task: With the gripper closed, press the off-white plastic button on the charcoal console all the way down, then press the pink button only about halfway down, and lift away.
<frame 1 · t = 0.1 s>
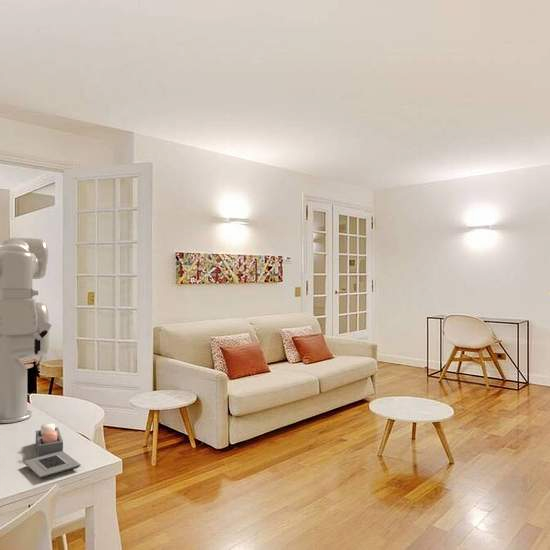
hand: (17, 355, 130), 31 cm above the table, tool pointing down, fingers open, 9 cm apart
button console: (48, 448, 141), on the table
electrical outlet: (51, 470, 127), on the table
white button: (47, 431, 144), point 4 cm above the table, slide at 0.0 cm
pink button: (50, 439, 138), point 4 cm above the table, slide at 0.0 cm
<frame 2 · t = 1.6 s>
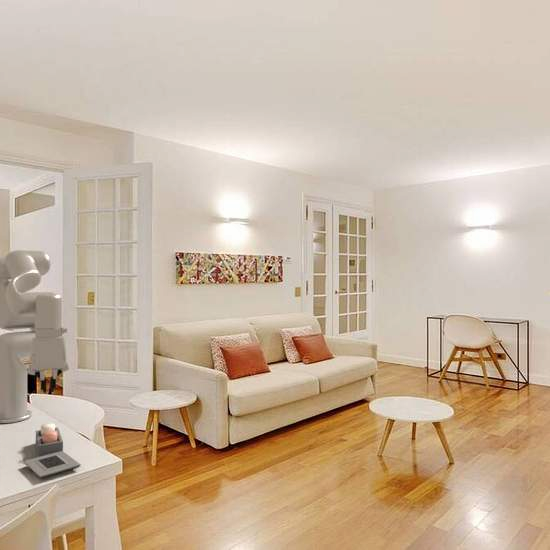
hand: (48, 391, 144), 17 cm above the table, tool pointing down, fingers closed
nothing on the table moved.
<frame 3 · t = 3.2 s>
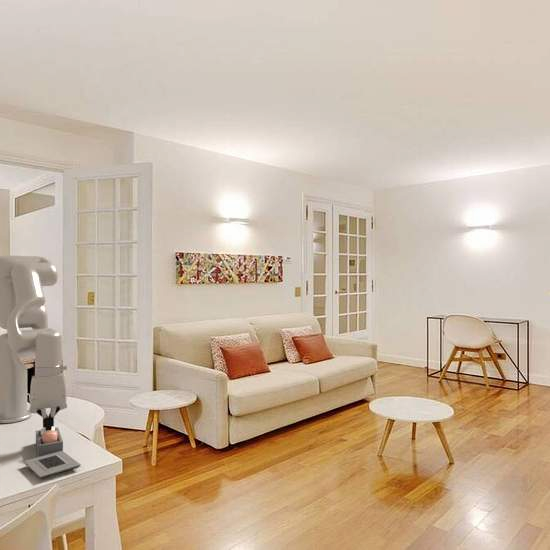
hand: (48, 429, 144), 5 cm above the table, tool pointing down, fingers closed
white button: (47, 435, 144), point 3 cm above the table, slide at 1.1 cm, touching gripper
everything else where it was.
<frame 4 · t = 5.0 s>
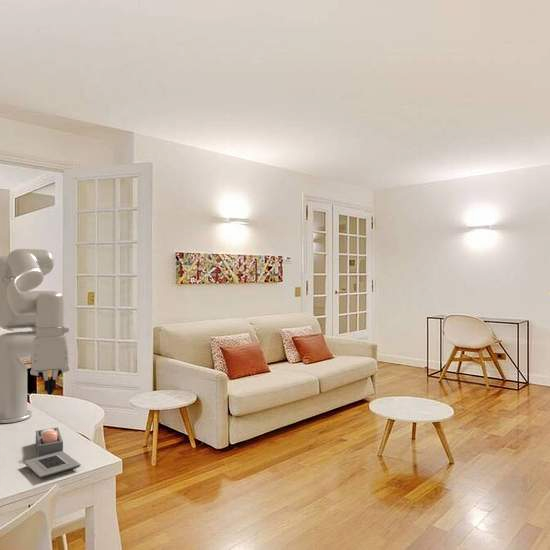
hand: (50, 392, 140), 18 cm above the table, tool pointing down, fingers closed
white button: (47, 437, 144), point 2 cm above the table, slide at 1.9 cm
everything else where it was.
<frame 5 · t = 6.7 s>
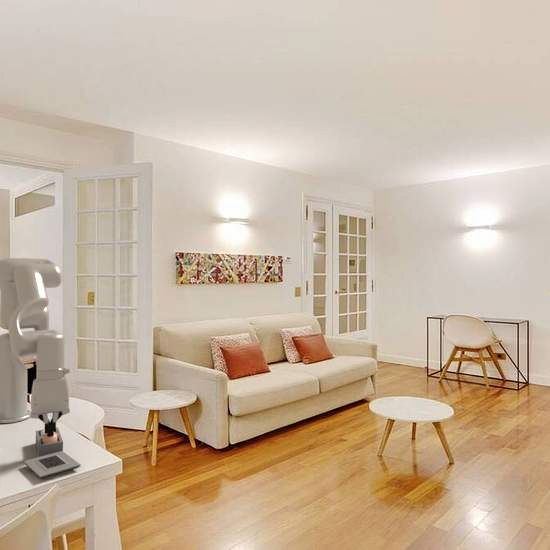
hand: (50, 434, 138), 6 cm above the table, tool pointing down, fingers closed
pink button: (50, 441, 138), point 4 cm above the table, slide at 0.7 cm, touching gripper
everything else where it was.
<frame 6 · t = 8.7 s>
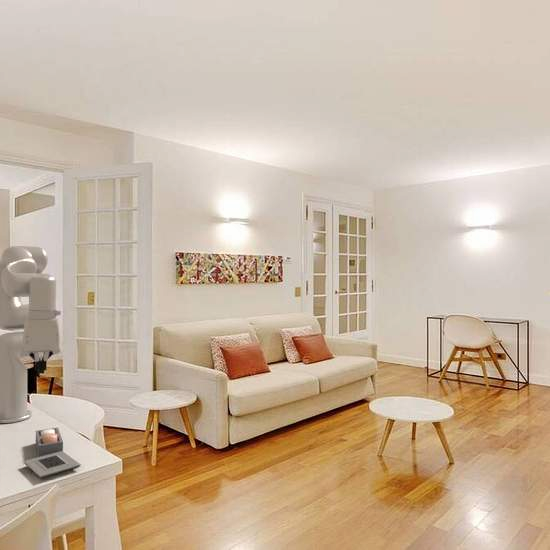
hand: (40, 372, 144), 23 cm above the table, tool pointing down, fingers closed
pink button: (50, 442, 138), point 3 cm above the table, slide at 1.0 cm
everything else where it was.
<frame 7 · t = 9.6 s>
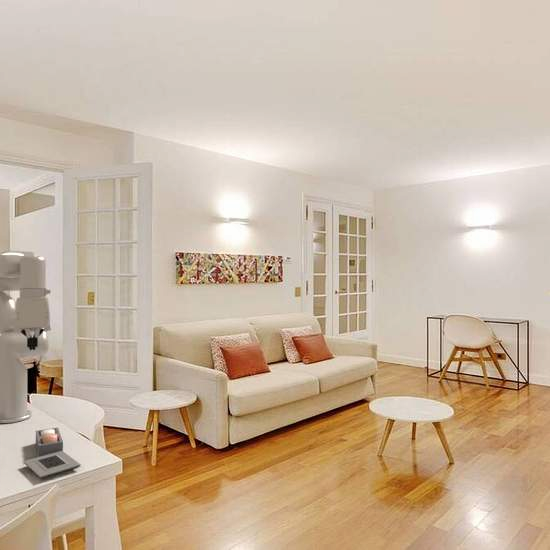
hand: (32, 349, 150), 29 cm above the table, tool pointing down, fingers closed
nothing on the table moved.
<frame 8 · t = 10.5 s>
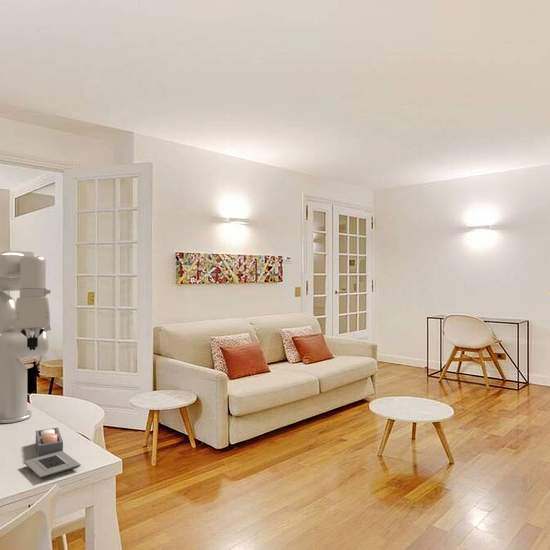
hand: (32, 349, 150), 29 cm above the table, tool pointing down, fingers closed
nothing on the table moved.
at the end: white button slide at 1.9 cm; pink button slide at 1.0 cm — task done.
